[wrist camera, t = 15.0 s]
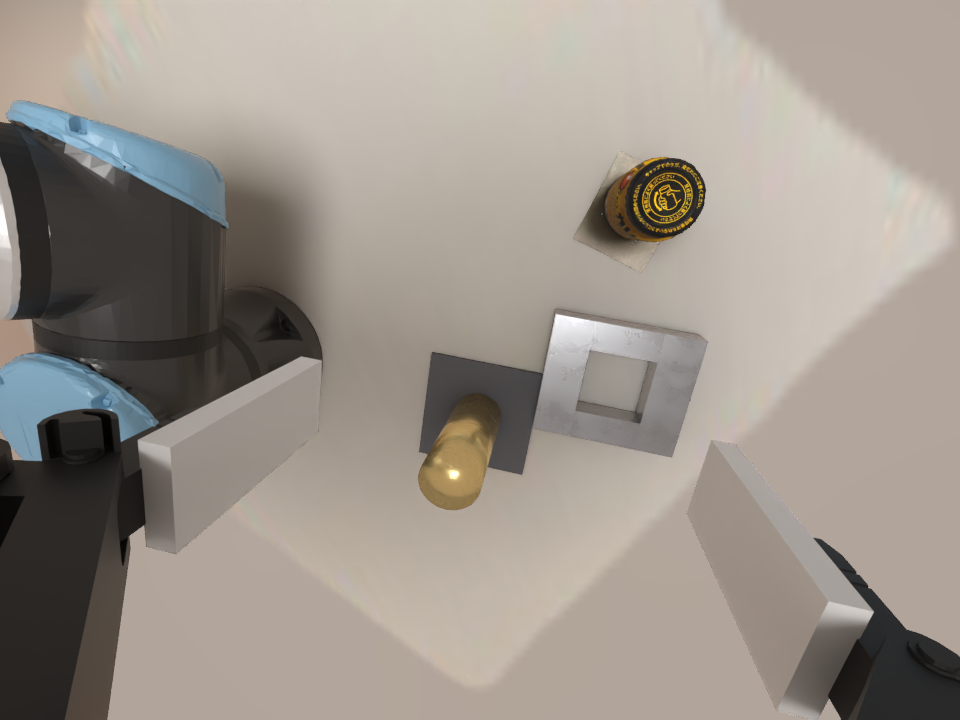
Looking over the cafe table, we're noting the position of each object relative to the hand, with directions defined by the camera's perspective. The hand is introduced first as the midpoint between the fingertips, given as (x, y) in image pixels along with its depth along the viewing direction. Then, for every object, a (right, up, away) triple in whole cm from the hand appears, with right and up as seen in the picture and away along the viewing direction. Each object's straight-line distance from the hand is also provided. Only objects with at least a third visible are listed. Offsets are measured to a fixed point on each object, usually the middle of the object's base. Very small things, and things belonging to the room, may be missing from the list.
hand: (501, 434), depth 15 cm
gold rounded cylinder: (-1, -4, +35) cm, 35 cm away
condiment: (+13, +16, +28) cm, 35 cm away
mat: (-1, -3, +36) cm, 36 cm away
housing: (+13, +1, +32) cm, 35 cm away
